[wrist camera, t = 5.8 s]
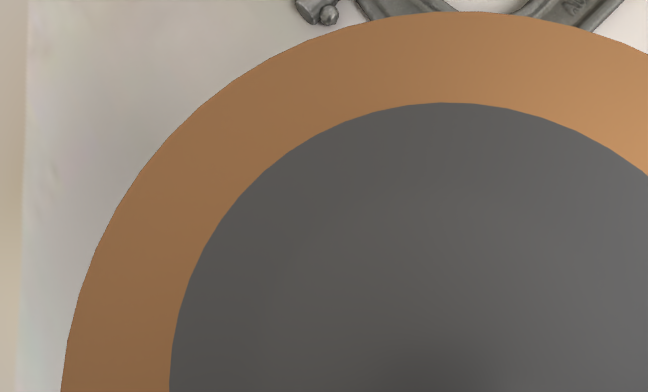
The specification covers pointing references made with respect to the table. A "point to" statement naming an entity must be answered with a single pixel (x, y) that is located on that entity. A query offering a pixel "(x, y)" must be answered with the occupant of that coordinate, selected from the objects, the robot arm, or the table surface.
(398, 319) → the jaw post
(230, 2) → the table surface
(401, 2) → the c clamp
